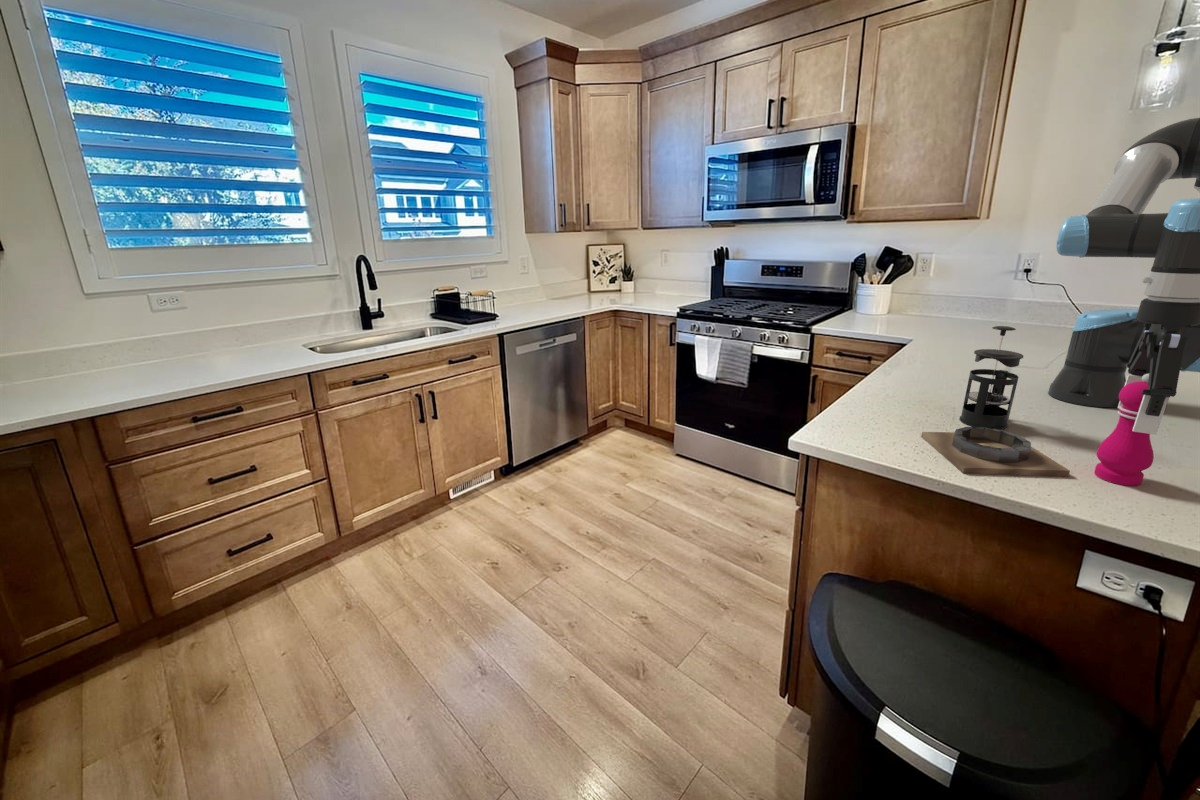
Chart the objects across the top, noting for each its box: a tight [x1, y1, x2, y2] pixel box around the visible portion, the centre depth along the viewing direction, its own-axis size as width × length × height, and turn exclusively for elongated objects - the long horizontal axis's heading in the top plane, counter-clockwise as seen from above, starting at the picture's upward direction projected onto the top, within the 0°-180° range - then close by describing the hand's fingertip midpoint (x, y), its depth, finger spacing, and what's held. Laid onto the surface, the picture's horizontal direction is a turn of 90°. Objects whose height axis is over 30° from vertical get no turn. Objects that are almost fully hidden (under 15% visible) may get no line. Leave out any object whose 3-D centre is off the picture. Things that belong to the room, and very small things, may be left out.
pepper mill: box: [1093, 374, 1170, 487], centre depth 91 cm, size 7×7×20 cm
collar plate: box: [920, 431, 1071, 477], centre depth 105 cm, size 18×18×1 cm
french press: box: [958, 325, 1024, 430], centre depth 118 cm, size 12×9×23 cm
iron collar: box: [952, 426, 1032, 463], centre depth 104 cm, size 12×12×2 cm
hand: (1135, 420), depth 90 cm, fingers open, 13 cm apart
